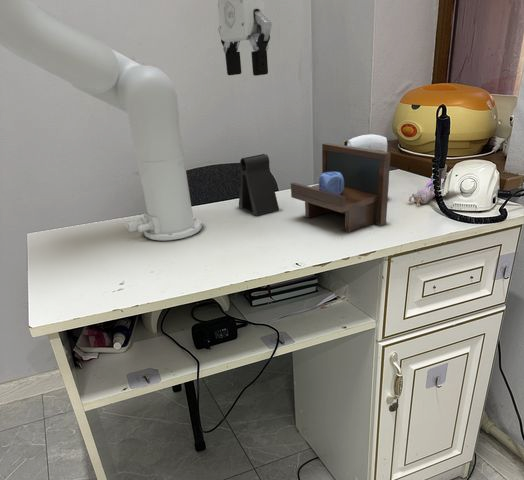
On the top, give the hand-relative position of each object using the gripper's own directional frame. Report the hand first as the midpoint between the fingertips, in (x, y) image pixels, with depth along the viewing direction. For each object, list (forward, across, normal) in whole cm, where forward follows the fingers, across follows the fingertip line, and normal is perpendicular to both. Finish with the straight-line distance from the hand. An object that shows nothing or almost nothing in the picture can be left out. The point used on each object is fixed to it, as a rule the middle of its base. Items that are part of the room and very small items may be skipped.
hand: (247, 74), depth 98 cm
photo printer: (+28, +2, +32) cm, 43 cm away
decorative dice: (+22, +17, +8) cm, 29 cm away
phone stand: (+28, -3, +2) cm, 29 cm away
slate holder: (+28, +17, +8) cm, 34 cm away
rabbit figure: (+28, +22, +35) cm, 50 cm away
